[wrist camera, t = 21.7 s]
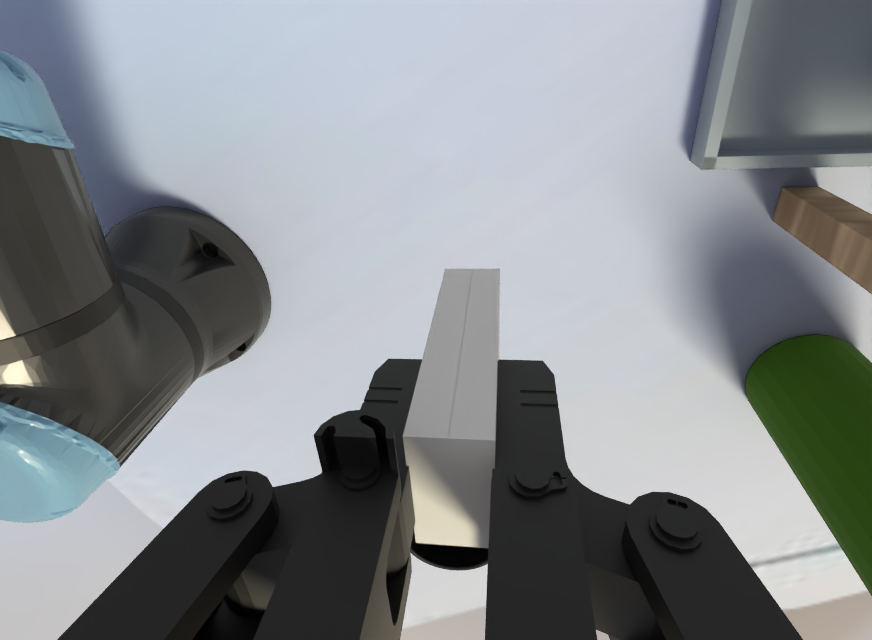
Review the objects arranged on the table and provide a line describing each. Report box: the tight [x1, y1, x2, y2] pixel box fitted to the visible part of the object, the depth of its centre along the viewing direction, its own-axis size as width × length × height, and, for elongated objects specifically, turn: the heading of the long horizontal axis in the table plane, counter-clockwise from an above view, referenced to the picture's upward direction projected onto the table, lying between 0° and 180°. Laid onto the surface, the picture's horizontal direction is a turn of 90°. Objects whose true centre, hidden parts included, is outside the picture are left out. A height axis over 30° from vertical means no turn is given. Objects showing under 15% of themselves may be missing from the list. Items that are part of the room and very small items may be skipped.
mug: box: [410, 532, 489, 570], centre depth 49 cm, size 9×12×9 cm
